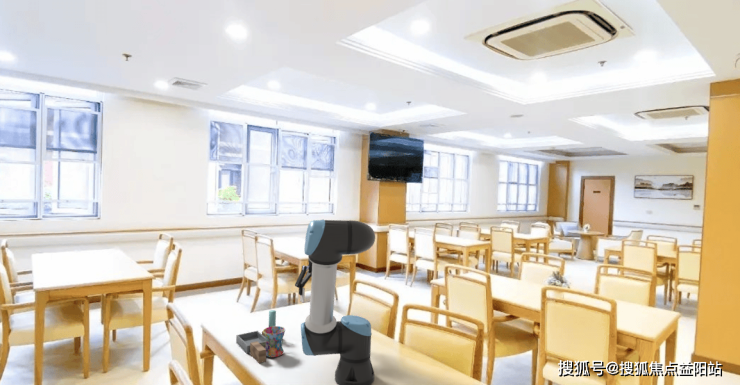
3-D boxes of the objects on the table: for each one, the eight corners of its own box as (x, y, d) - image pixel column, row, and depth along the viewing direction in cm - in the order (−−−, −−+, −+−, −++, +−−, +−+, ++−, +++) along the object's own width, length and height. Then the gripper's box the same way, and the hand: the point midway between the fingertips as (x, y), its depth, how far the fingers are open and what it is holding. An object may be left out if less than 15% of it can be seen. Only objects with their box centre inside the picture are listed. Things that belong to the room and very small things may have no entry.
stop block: (265, 361, 159) (266, 349, 159) (258, 363, 157) (259, 351, 157) (256, 352, 167) (257, 341, 167) (250, 354, 165) (250, 342, 165)
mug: (275, 361, 160) (276, 335, 159) (257, 356, 163) (258, 331, 163) (292, 350, 171) (293, 326, 170) (275, 345, 174) (276, 322, 174)
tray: (269, 348, 171) (269, 340, 171) (246, 353, 165) (247, 345, 165) (257, 337, 182) (257, 330, 182) (236, 342, 176) (236, 335, 176)
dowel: (276, 338, 182) (277, 311, 182) (269, 340, 180) (270, 312, 180) (273, 336, 185) (274, 309, 184) (267, 337, 183) (268, 310, 183)
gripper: (335, 250, 188) (334, 293, 188) (288, 255, 173) (287, 301, 173) (343, 253, 182) (342, 297, 182) (295, 257, 167) (294, 306, 167)
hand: (315, 299), depth 178 cm, fingers open, 13 cm apart
